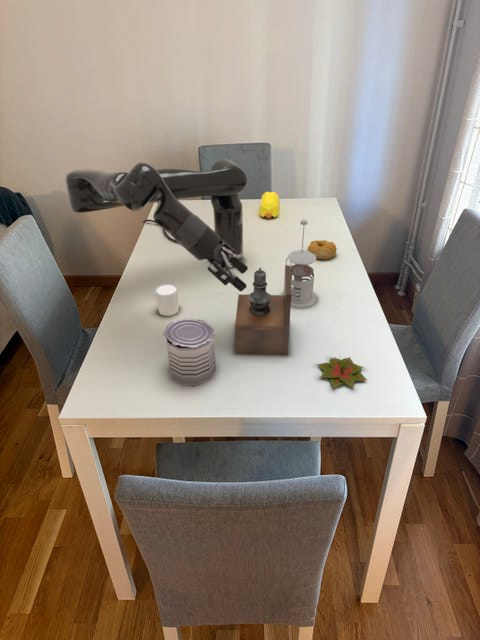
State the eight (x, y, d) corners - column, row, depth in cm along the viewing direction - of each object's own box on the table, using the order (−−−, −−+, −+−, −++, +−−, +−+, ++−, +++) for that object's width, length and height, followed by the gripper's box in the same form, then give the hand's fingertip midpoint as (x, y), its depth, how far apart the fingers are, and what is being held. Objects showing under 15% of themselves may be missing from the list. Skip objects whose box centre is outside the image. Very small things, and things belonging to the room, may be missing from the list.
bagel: (334, 247, 171) (336, 234, 168) (336, 262, 162) (338, 249, 159) (306, 246, 172) (307, 234, 169) (307, 261, 163) (308, 248, 160)
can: (172, 355, 123) (168, 316, 116) (217, 355, 123) (215, 316, 116) (165, 385, 114) (160, 345, 107) (214, 386, 113) (211, 345, 106)
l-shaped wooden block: (235, 353, 123) (234, 293, 113) (239, 321, 135) (238, 264, 124) (288, 355, 122) (291, 294, 112) (286, 322, 134) (289, 265, 124)
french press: (294, 311, 139) (298, 230, 124) (273, 292, 147) (275, 214, 133) (322, 302, 142) (330, 222, 128) (300, 284, 151) (305, 207, 136)
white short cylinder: (184, 306, 141) (182, 285, 137) (174, 319, 136) (172, 297, 132) (163, 302, 143) (160, 281, 139) (152, 314, 138) (149, 293, 134)
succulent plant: (376, 385, 113) (379, 370, 110) (329, 396, 110) (331, 381, 108) (352, 354, 122) (354, 339, 120) (308, 363, 120) (309, 348, 117)
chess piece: (269, 316, 121) (270, 274, 114) (246, 314, 122) (245, 272, 115) (272, 303, 125) (273, 262, 118) (250, 301, 126) (250, 260, 119)
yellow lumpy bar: (258, 220, 191) (278, 220, 191) (258, 204, 187) (278, 204, 187) (261, 203, 206) (279, 203, 205) (261, 187, 202) (280, 188, 201)
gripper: (188, 233, 120) (235, 274, 126) (180, 260, 109) (232, 304, 115) (209, 213, 117) (256, 256, 123) (202, 239, 105) (254, 285, 111)
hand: (244, 279), depth 119 cm, fingers open, 8 cm apart
